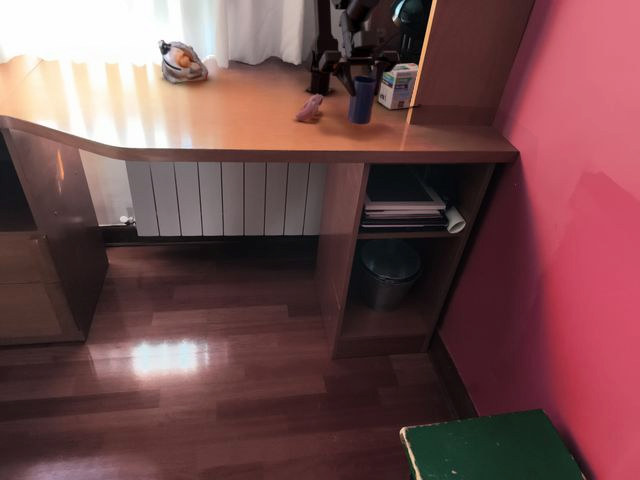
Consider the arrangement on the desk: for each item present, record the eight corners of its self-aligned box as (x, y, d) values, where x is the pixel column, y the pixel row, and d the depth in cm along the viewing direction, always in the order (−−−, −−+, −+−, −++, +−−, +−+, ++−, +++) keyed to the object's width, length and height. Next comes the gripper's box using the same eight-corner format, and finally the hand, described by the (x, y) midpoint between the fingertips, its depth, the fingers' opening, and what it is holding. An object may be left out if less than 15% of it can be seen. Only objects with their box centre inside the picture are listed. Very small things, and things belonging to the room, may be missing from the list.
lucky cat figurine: (217, 77, 141) (214, 41, 128) (193, 101, 136) (186, 66, 123) (178, 54, 142) (171, 16, 130) (152, 77, 138) (142, 40, 125)
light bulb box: (390, 110, 131) (396, 72, 124) (377, 101, 135) (383, 64, 129) (419, 106, 135) (427, 69, 129) (406, 98, 140) (413, 62, 133)
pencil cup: (352, 113, 116) (357, 73, 110) (373, 118, 114) (379, 78, 108) (344, 121, 111) (349, 80, 105) (365, 126, 110) (372, 85, 104)
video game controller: (308, 129, 119) (321, 107, 115) (293, 119, 118) (306, 97, 114) (316, 115, 127) (329, 95, 123) (302, 106, 126) (315, 85, 122)
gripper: (327, 12, 99) (338, 80, 97) (404, 14, 104) (415, 79, 103) (314, 40, 110) (323, 102, 108) (384, 41, 115) (394, 100, 113)
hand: (364, 95), depth 108 cm, fingers closed on pencil cup, 5 cm apart
